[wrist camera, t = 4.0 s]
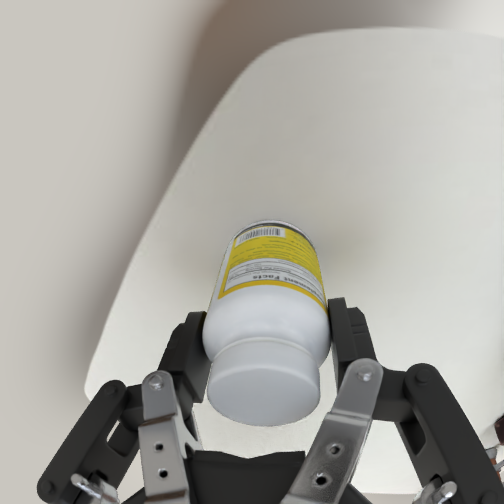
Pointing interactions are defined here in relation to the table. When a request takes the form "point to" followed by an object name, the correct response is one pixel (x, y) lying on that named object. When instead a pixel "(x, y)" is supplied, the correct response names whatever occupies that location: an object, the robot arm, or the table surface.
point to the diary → (500, 430)
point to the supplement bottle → (267, 327)
